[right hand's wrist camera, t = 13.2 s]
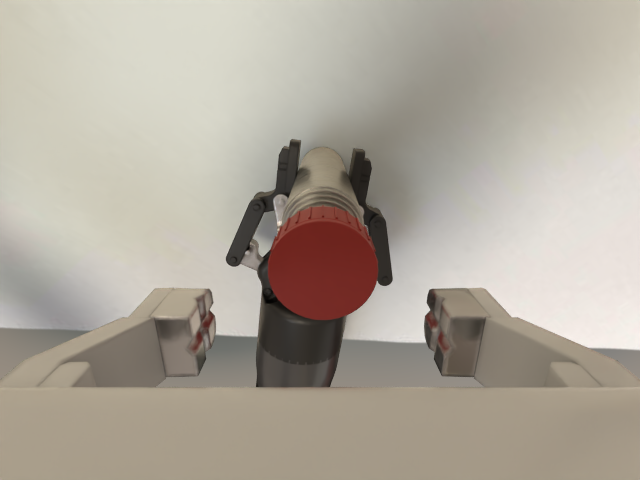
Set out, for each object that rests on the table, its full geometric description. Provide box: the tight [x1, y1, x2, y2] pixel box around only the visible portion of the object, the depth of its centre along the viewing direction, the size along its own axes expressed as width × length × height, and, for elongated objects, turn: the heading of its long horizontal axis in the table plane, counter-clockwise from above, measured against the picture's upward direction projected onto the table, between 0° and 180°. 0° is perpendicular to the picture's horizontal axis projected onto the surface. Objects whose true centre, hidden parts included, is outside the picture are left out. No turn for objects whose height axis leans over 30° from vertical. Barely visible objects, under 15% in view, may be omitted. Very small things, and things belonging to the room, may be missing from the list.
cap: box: [268, 205, 378, 320], centre depth 13 cm, size 4×4×2 cm
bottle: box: [281, 147, 364, 227], centre depth 22 cm, size 4×4×21 cm
